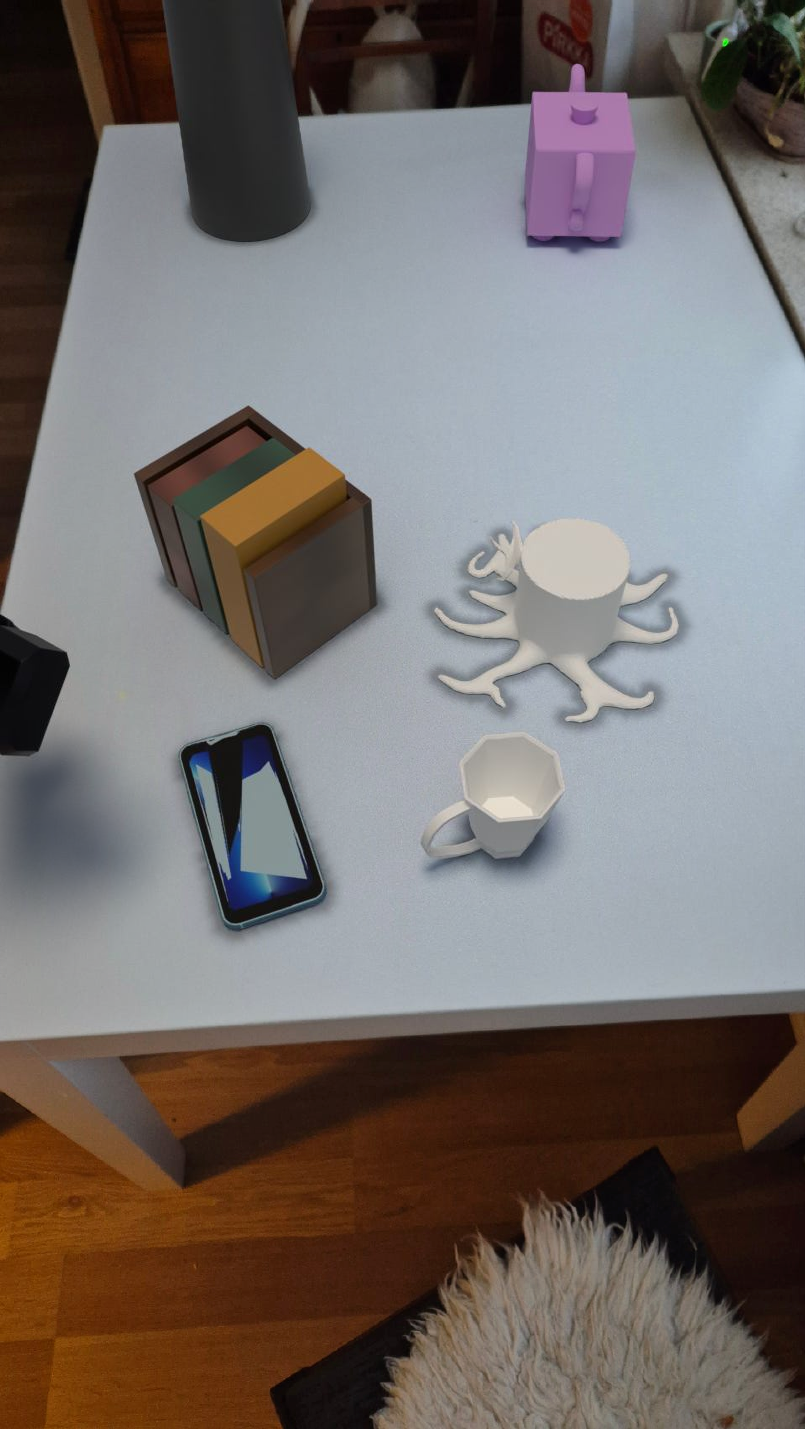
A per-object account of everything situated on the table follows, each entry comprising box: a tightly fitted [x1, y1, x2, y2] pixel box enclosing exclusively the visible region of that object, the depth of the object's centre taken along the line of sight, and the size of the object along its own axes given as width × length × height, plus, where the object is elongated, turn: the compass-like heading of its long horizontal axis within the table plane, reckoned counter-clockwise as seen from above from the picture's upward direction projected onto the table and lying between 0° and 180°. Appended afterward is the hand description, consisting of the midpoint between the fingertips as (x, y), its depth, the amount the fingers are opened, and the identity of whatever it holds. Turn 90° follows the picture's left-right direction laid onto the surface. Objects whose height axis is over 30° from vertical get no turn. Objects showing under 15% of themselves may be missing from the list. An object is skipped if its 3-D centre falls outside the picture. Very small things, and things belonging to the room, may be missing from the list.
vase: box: [161, 0, 311, 242], centre depth 104 cm, size 14×14×29 cm
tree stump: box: [433, 517, 680, 723], centre depth 78 cm, size 20×19×8 cm
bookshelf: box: [133, 405, 378, 680], centre depth 79 cm, size 11×14×13 cm
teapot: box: [524, 63, 637, 243], centre depth 109 cm, size 20×10×12 cm, turn 177°
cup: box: [420, 731, 566, 860], centre depth 68 cm, size 7×10×8 cm
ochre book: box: [200, 446, 347, 668], centre depth 77 cm, size 10×4×14 cm, turn 133°
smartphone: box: [177, 722, 327, 930], centre depth 72 cm, size 7×1×15 cm
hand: (46, 660), depth 65 cm, fingers closed
